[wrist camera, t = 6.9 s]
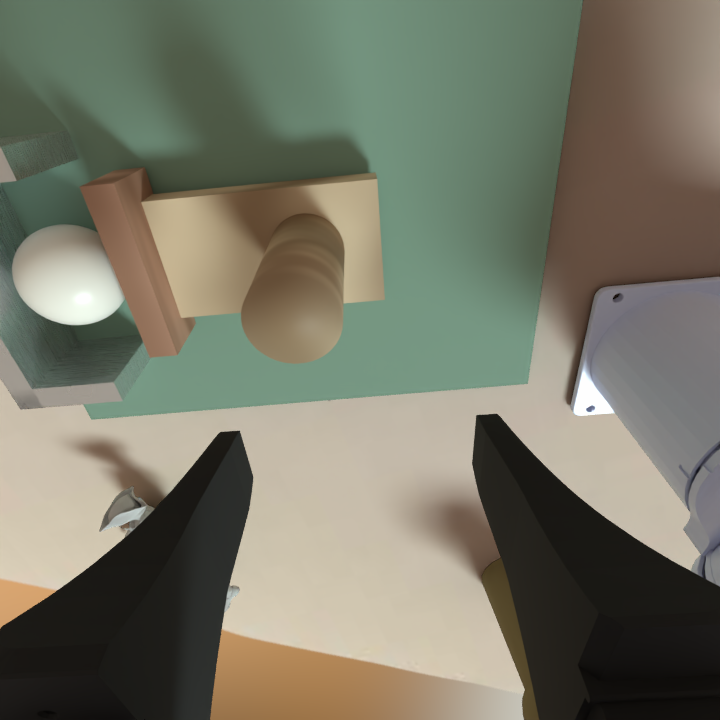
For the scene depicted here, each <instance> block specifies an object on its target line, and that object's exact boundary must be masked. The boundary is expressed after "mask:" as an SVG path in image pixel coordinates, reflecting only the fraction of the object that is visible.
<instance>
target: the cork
mask: <svg viewBox="0 0 720 720" xmlns="http://www.w3.org/2000/svg"><path fill="white" fill-rule="evenodd" d="M482 583H483V586H484V588H485V591H486V593H487V596H488V598H489V601H490V603H491V606H492V608H493V611H494V613H495V616H496V618H497V621H498V623H499V626H500V628H501V631H502V633H503V636H504V638H505V641H506V643H507V646H508V648H509V651H510V653H511V656H512V658H513V661H514V663H515V666H516V668H517V671H518V673H519V676H520V678H521V681H522V683H523V686H524V688H525V691H524V695H523V698H522V699H523V700H522V707H523V717H524V720H539V717H538V712H537V707H536V702H535V697H534V692H533V687H532V682H531V678H530V673H529V668H528V664H527V659H526V654H525V650H524V645H523V641H522V636H521V632H520V628H519V623H518V619H517V615H516V611H515V607H514V602H513V598H512V594H511V590H510V586H509V582H508V578H507V575H506V572H505V568H504V565H503V562H502V559H501V558H500V559H498V560H496V561H494V562H493V563H491V564H490V565H489V566H488V567H487V568H486V569H485V571H484V573H483V575H482Z"/></svg>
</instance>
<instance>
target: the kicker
mask: <svg viewBox="0 0 720 720" xmlns="http://www.w3.org/2000/svg"><path fill="white" fill-rule="evenodd" d="M80 189H81V192H82V194H83V197H84V199H85V201H86V204H87V206H88V209H89V211H90V214H91V216H92V218H93V221H94V223H95V226H96V228H97V231H98V233H99V236H100V238H101V240H102V243H103V245H104V248H105V250H106V253H107V255H108V257H109V260H110V262H111V265H112V267H113V270H114V272H115V274H116V277H117V279H118V282H119V284H120V287H121V289H122V291H123V294H124V296H125V299H126V301H127V304H128V306H129V308H130V311H131V313H132V316H133V318H134V321H135V323H136V325H137V328H138V330H139V333H140V335H141V338H142V340H143V342H144V345H145V347H146V350H147V352H148V355H149V357H150V358H152V357H164V356H175V355H178V354H179V352H180V350H181V348H182V347H183V345H184V343H185V342H186V340H187V338H188V336H189V335H190V333H191V331H192V330H193V328H194V326H195V324H196V322H195V319H194V317H197V316H208V315H220V314H231V313H241V322H242V327H243V330H244V332H245V334H246V336H247V338H248V339H249V341H250V342H251V344H252V345H253V346H254V347H255V348H256V349H257V350H258V351H260V352H261V353H263V354H264V355H266V356H267V357H269V358H272V359H274V360H277V361H280V362H284V363H292V364H300V363H307V362H311V361H314V360H317V359H319V358H321V357H323V356H324V355H326V354H327V353H328V352H329V351H331V350H332V349H333V347H334V346H335V345H336V343H337V342H338V340H339V338H340V336H341V333H342V329H343V303H355V302H366V301H377V300H385V294H384V278H383V262H382V247H381V231H380V215H379V199H378V184H377V176H376V172H375V173H365V174H354V175H344V176H334V177H324V178H313V179H303V180H293V181H283V182H272V183H262V184H252V185H242V186H231V187H221V188H211V189H201V190H190V191H180V192H170V193H160V194H153V191H152V188H151V185H150V182H149V179H148V176H147V172H146V169H145V167H142V168H132V169H122V170H114V171H112V172H110V173H108V174H106V175H104V176H101V177H99V178H97V179H95V180H93V181H91V182H88V183H86V184H84V185H82V186H80Z"/></svg>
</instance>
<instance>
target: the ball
mask: <svg viewBox="0 0 720 720" xmlns="http://www.w3.org/2000/svg"><path fill="white" fill-rule="evenodd" d="M12 276H13V281H14V284H15V287H16V289H17V292H18V293H19V295H20V297H21V298H22V299H23V301H24V302H25V303H26V304H27V305H28V306H29V307H30V308H31V309H32V310H34V311H35V312H36V313H38V314H39V315H41V316H43V317H45V318H47V319H49V320H51V321H54V322H58V323H61V324H67V325H86V324H91V323H95V322H98V321H100V320H103V319H105V318H107V317H108V316H110V315H111V314H113V313H114V312H115V311H116V310H117V309H118V308H119V307H120V305H121V304H122V303H123V301H124V299H125V296H124V294H123V291H122V289H121V287H120V284H119V282H118V279H117V277H116V274H115V272H114V270H113V267H112V265H111V262H110V260H109V257H108V255H107V253H106V250H105V248H104V245H103V243H102V240H101V238H100V236H99V233H98V232H96V231H93V230H91V229H89V228H85V227H82V226H77V225H68V224H60V225H53V226H48V227H45V228H42V229H40V230H38V231H36V232H34V233H33V234H31V235H30V236H28V237H27V238H26V239H25V240H24V241H23V242H22V243H21V245H20V246H19V247H18V249H17V251H16V253H15V256H14V259H13V263H12Z"/></svg>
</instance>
